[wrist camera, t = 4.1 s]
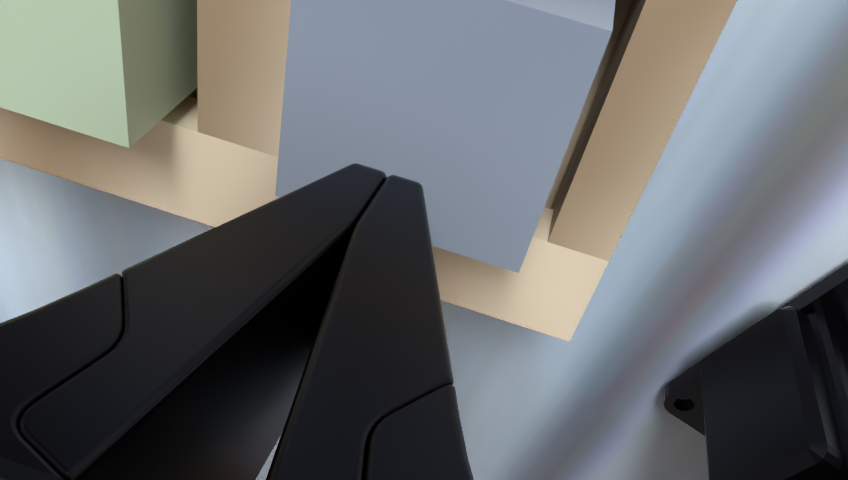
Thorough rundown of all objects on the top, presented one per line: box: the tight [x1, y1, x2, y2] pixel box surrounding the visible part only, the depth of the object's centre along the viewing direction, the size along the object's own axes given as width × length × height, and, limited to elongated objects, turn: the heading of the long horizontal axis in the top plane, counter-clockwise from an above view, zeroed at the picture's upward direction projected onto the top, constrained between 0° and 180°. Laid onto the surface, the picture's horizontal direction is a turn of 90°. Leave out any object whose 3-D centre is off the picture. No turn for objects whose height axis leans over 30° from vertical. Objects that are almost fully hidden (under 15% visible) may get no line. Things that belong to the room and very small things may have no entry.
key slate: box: [275, 0, 616, 273], centre depth 11 cm, size 4×4×2 cm
